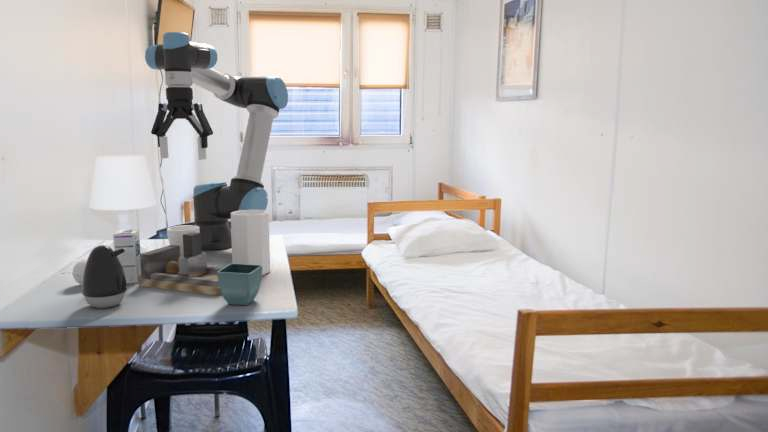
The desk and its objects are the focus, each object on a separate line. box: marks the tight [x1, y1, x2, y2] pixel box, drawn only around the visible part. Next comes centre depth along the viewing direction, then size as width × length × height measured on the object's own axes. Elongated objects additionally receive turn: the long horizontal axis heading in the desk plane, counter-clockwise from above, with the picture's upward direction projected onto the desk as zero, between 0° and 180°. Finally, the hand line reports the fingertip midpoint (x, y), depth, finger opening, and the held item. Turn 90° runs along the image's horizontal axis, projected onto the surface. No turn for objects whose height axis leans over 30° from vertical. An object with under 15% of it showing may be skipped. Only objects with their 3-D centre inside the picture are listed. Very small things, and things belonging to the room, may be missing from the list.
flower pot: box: [217, 263, 263, 306], centre depth 155 cm, size 9×9×9 cm
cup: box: [230, 209, 271, 277], centre depth 184 cm, size 11×11×18 cm
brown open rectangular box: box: [138, 244, 224, 296], centre depth 171 cm, size 26×14×9 cm, turn 70°
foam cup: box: [166, 224, 200, 257], centre depth 188 cm, size 10×9×13 cm
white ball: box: [61, 258, 88, 286], centre depth 170 cm, size 10×7×7 cm
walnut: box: [165, 261, 179, 275], centre depth 174 cm, size 4×4×4 cm
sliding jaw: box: [179, 232, 208, 277], centre depth 171 cm, size 3×8×12 cm, turn 160°
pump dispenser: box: [81, 244, 128, 309], centre depth 151 cm, size 10×10×15 cm
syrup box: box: [112, 229, 142, 285], centre depth 174 cm, size 6×6×14 cm
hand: (183, 158), depth 185 cm, fingers open, 13 cm apart
